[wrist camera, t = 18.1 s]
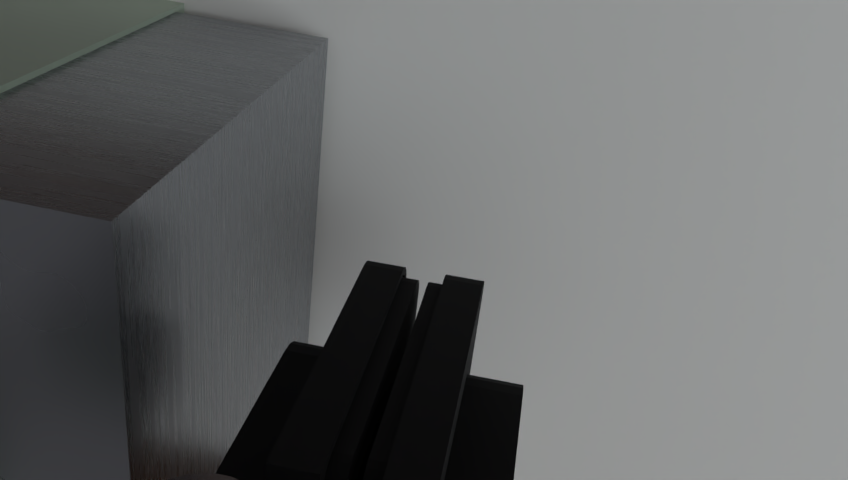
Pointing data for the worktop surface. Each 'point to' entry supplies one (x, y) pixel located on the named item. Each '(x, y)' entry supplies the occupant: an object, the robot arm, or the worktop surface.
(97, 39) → the pale green block
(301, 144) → the bookend
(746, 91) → the shelf board
